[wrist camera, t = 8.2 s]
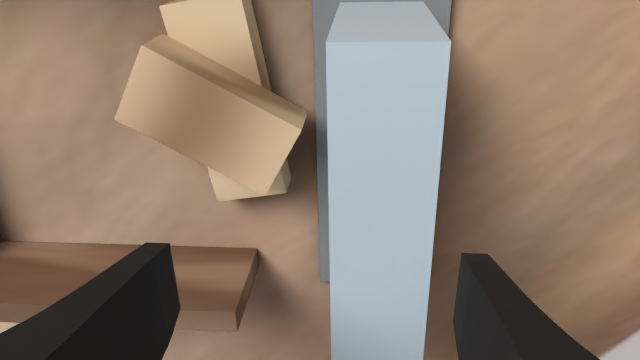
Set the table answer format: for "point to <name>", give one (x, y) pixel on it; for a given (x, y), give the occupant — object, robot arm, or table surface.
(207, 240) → the table surface
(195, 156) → the offcut upper
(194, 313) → the rack
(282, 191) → the offcut lower
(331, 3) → the grey block
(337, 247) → the pale blue block
